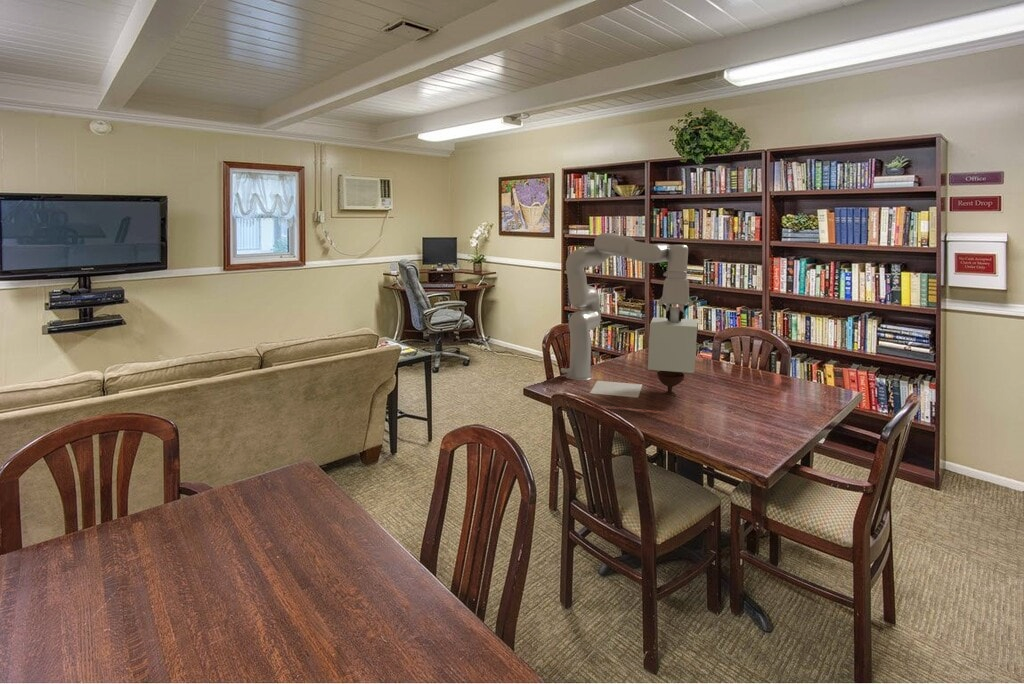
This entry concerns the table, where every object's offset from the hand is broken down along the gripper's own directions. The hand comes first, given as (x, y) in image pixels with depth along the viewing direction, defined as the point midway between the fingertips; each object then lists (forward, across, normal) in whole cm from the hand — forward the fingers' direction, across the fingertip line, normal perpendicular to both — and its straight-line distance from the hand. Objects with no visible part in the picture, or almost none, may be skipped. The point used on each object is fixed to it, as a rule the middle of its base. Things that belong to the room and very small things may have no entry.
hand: (674, 320), depth 232 cm
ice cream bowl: (+32, 0, 0) cm, 32 cm away
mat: (+32, -22, 0) cm, 39 cm away
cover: (+19, 0, 0) cm, 19 cm away
